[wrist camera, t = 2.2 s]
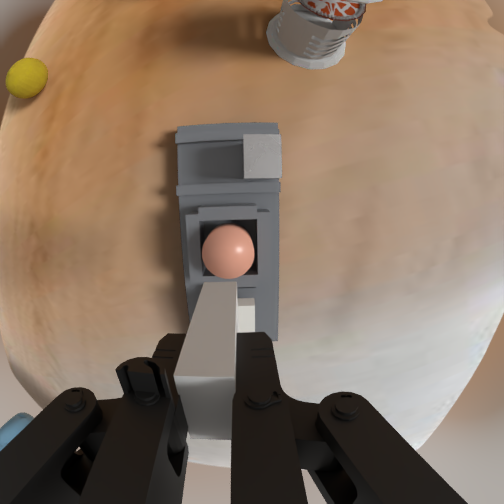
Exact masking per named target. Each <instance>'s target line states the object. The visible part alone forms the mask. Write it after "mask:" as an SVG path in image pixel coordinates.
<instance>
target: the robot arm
mask: <svg viewBox="0 0 504 504" xmlns="http://www.w3.org/2000/svg"><path fill="white" fill-rule="evenodd" d="M116 373H117V376H118V379H119V381H120V384H121V387H122V389H123V392H124V395H123V397H122V398H117V399H107V400H97V399H96V397H95V395H94V393H93V392H91V391H90V390H89V389H86V388H82V387H78V388H71V389H68V390H65V391H64V392H62V393H61V394H60V395H59V396H57V397H56V398H55V399H54V400H53V401H52V402H51V403H50V404H49V405H48V406H47V407H46V408H45V409H44V410H43V411H41V412H40V414H38V415H37V416H36V417H35V418H33V417H32V416H31V415H29V414H27V413H19V414H17V415H15V416H14V417H12V418H11V419H10V420H9V421H8V422H7V423H6V424H4V425H3V426H2V427H1V428H0V504H182V497H183V488H184V481H185V474H186V467H187V460H188V453H189V452H188V445H187V443H186V438H187V432H189V435H190V438H193V439H217V440H231V504H308V502H307V496H306V492H305V487H304V481H303V476H302V471H301V469H306V470H308V472H309V474H310V475H311V477H312V479H313V481H314V482H315V484H316V486H317V487H318V489H319V491H320V492H321V494H322V496H323V497H324V499H325V501H326V502H327V504H468V503H467V502H466V501H465V500H464V499H463V498H462V497H461V496H459V494H458V493H456V491H454V490H453V488H452V487H450V486H449V484H447V482H446V481H445V480H444V479H443V478H442V477H441V476H440V475H439V474H438V473H437V472H436V471H435V470H434V469H433V468H432V467H431V466H430V465H429V464H428V463H427V462H426V461H425V460H424V459H423V458H422V457H421V456H420V455H419V454H418V453H417V452H416V451H415V450H414V449H413V448H412V447H411V446H410V445H409V444H408V443H407V441H406V440H405V439H404V438H403V437H402V436H401V435H400V434H399V433H398V432H397V431H396V430H395V429H394V428H393V427H392V426H391V425H390V424H389V423H388V422H387V421H386V419H385V418H384V417H383V416H382V415H381V414H380V413H379V412H378V411H377V410H376V409H375V408H374V407H373V406H372V405H371V404H370V403H369V401H368V400H366V399H365V398H364V397H362V396H361V395H358V394H355V393H352V392H337V393H332V394H330V395H329V396H327V397H325V398H324V399H323V400H322V401H321V402H320V404H317V403H308V402H302V401H298V400H295V399H293V398H291V397H289V396H288V395H287V394H286V393H285V392H284V391H283V390H282V388H281V385H280V380H279V375H278V370H277V365H276V360H275V355H274V350H273V344H272V339H271V338H270V337H269V336H268V335H267V334H266V333H265V332H242V333H239V321H238V299H237V282H204V284H203V287H202V290H201V293H200V295H199V298H198V301H197V304H196V307H195V310H194V313H193V316H192V319H191V322H190V325H189V328H188V331H187V334H171V333H168V334H167V335H166V336H164V337H163V338H162V339H161V340H160V341H159V343H158V345H157V347H156V351H155V352H154V354H153V356H152V358H149V357H137V358H133V359H129V360H127V361H125V362H123V363H121V364H120V365H119V366H118V367H117V368H116ZM78 447H80V448H81V449H80V450H78V451H76V449H77V448H78Z"/></svg>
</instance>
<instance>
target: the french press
mask: <svg viewBox="0 0 504 504" xmlns="http://www.w3.org/2000/svg"><path fill="white" fill-rule="evenodd" d="M380 1H383V0H292V1H290V2H288V0H283V3H282V7H281V10H282V11H283V12H282V11H280V13H279V14H277V15H276V16H275V17H274V18H273V19H272V20H271V21H270V22H269V24H268V28H267V31H266V34H267V38H268V42H269V45H270V46H271V47H272V49H273V50H274V51H275V52H276V53H277V55H278V56H279V57H281V58H283V59H284V60H286V61H288V62H289V63H291V64H292V65H296V66H299V67H303V68H306V69H325V68H328V67H330V66H333V65H335V64H337V63H338V62H339V61H340V59H341V58H342V57H343V56H344V53H345V45H346V43H345V41H346V40H347V38H348V37H349V36H350V35H351V33H352V32H353V31H354V30H355V29H356V28H357V27H358V25H359V24H360V23H361V21H362V17H363V14H364V13H365V11H366V4H367V3H373V2H380ZM294 2H300V3H301V4H294V5H292V6H290V4H292V3H294ZM329 19H331V20H333V22H332V21H331V20H329ZM355 19H358V25H357V27H356V21H355ZM352 23H353V25H354V28H352V27H351V24H352ZM348 28H349V29H348ZM348 34H349V36H348ZM344 36H346V37H344Z"/></svg>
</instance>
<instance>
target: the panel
mask: <svg viewBox="0 0 504 504" xmlns="http://www.w3.org/2000/svg"><path fill="white" fill-rule="evenodd" d="M243 134H279V129H278V123H221V124H204V125H191V126H180V127H178V132H177V133H175V143H176V144H177V145H178V186H176V195H177V196H179V211H180V227H181V242H182V254H183V266H184V276H185V286H186V295H187V304H188V312H189V320H190V322H191V319H192V316H193V313H194V310H195V307H196V304H197V301H198V298H199V295H200V293H201V290H202V287H203V284H204V282H237V298H254V301H255V332H265V333H266V334H267V335H268V336H269V337H270V338H271V339H272V341H278V306H279V192H280V182H279V178H278V179H243ZM224 223H235V224H238V225H240V226H242V227H243V228H245V229H246V230H247V231H248V233H249V234H250V236H251V239H252V243H253V247H254V260H253V263H252V265H251V267H250V268H249V270H248V271H247V272H246V273H245V274H243V275H241V276H239V277H237V278H233V279H224V278H220V277H217V276H215V275H214V274H212V273H211V272H210V271H209V270H208V269H207V268H206V266H205V264H204V262H203V259H202V248H203V244H204V242H205V240H206V239H207V237H208V235H209V234H210V232H211V231H212V230H213V229H214V228H215V227H216V226H218V225H220V224H224Z"/></svg>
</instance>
